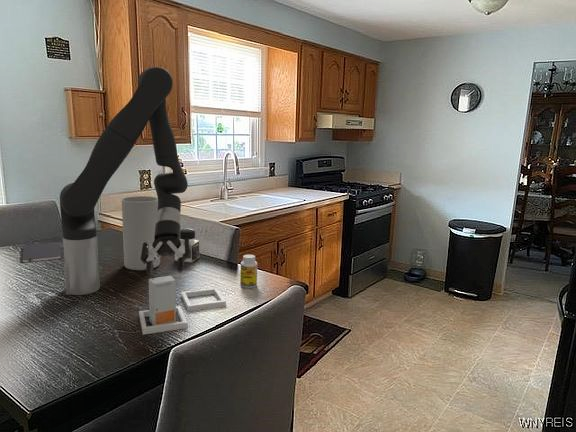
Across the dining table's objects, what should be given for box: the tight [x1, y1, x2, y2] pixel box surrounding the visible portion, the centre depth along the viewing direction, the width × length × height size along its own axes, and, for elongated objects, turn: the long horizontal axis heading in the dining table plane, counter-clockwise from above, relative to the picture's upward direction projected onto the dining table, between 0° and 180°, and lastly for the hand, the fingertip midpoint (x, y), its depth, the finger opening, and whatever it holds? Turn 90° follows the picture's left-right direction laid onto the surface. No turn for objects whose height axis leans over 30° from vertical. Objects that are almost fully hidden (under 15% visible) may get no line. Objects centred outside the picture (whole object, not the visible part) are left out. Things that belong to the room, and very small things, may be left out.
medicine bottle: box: [174, 228, 200, 263], centre depth 162 cm, size 7×7×12 cm
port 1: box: [138, 305, 188, 336], centre depth 111 cm, size 11×13×2 cm
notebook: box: [21, 241, 63, 263], centre depth 164 cm, size 13×2×21 cm
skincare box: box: [148, 275, 177, 326], centre depth 109 cm, size 6×4×12 cm
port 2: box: [180, 287, 227, 312], centre depth 125 cm, size 11×13×2 cm
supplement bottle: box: [239, 254, 258, 289], centre depth 138 cm, size 6×6×10 cm
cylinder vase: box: [121, 195, 161, 271], centre depth 151 cm, size 12×12×25 cm
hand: (165, 273), depth 119 cm, fingers open, 8 cm apart
